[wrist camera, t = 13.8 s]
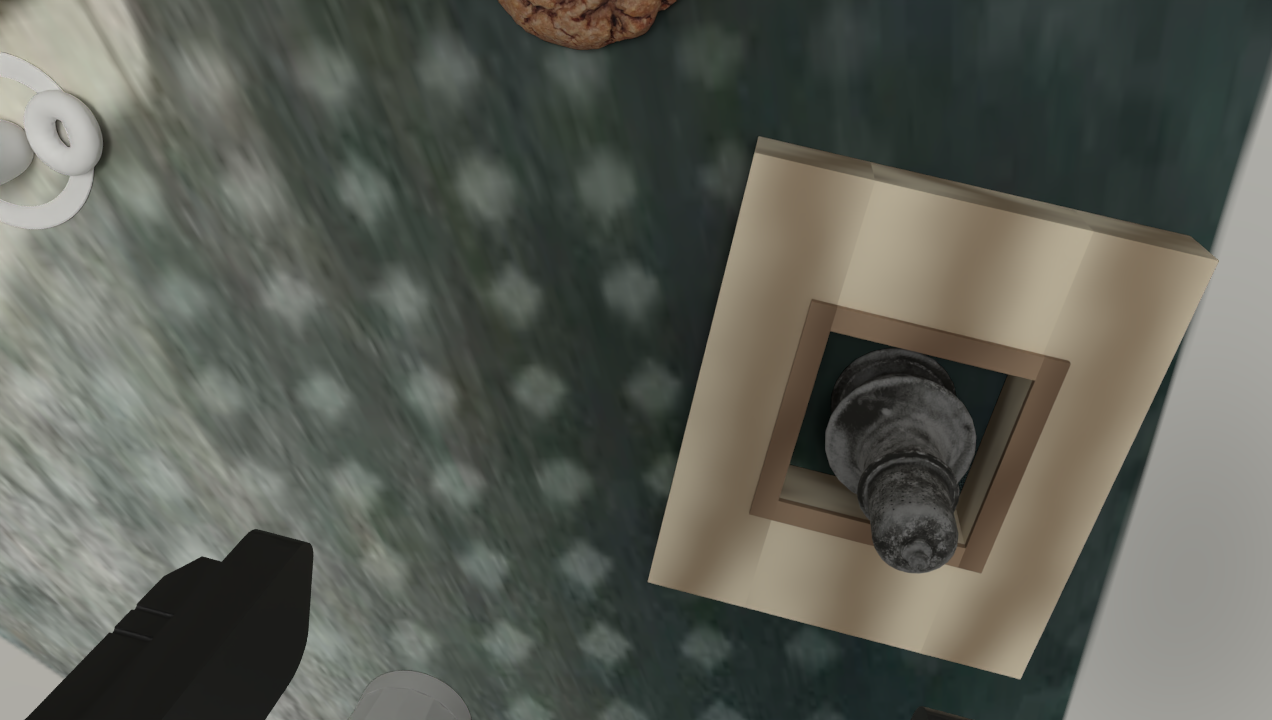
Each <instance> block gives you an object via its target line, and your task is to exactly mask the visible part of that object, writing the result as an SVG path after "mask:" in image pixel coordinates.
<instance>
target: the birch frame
mask: <svg viewBox="0 0 1272 720" xmlns="http://www.w3.org/2000/svg"><path fill="white" fill-rule="evenodd" d="M1218 262H1219V260H1218V259H1216V258H1215V257H1214V256H1213V255H1212V254H1211V253H1209V252H1208V251H1207V250H1206V249H1205V248H1204V247H1202V246H1201V245H1200V244H1199V243H1198V242H1197V241H1195V240H1194V239H1193V238H1192V237H1191V236H1187V235H1183V234H1179V233H1174V232H1170V231H1166V230H1161V229H1157V228H1153V227H1148V226H1144V225H1140V224H1136V223H1131V222H1127V221H1123V220H1118V219H1114V218H1110V217H1105V216H1101V215H1097V214H1092V213H1088V212H1084V211H1079V210H1075V209H1071V208H1067V207H1062V206H1058V205H1054V204H1049V203H1045V202H1041V201H1036V200H1032V199H1028V198H1023V197H1019V196H1015V195H1010V194H1006V193H1002V192H997V191H993V190H989V189H985V188H980V187H976V186H972V185H967V184H963V183H959V182H954V181H950V180H946V179H941V178H937V177H933V176H928V175H924V174H920V173H916V172H911V171H907V170H903V169H898V168H894V167H890V166H885V165H881V164H877V163H872V162H868V161H864V160H859V159H855V158H851V157H847V156H842V155H838V154H834V153H829V152H825V151H821V150H816V149H812V148H808V147H803V146H799V145H795V144H790V143H786V142H782V141H777V140H773V139H769V138H765V137H760V136H758V140H757V144H756V148H755V152H754V156H753V160H752V164H751V168H750V172H749V176H748V180H747V184H746V188H745V192H744V196H743V200H742V204H741V208H740V212H739V216H738V220H737V224H736V228H735V232H734V236H733V240H732V244H731V248H730V252H729V257H728V261H727V265H726V269H725V273H724V277H723V281H722V285H721V289H720V293H719V297H718V301H717V305H716V309H715V313H714V317H713V321H712V325H711V329H710V333H709V337H708V341H707V345H706V349H705V353H704V357H703V361H702V365H701V369H700V373H699V377H698V381H697V385H696V389H695V393H694V397H693V401H692V405H691V409H690V413H689V417H688V421H687V425H686V429H685V433H684V437H683V441H682V445H681V449H680V453H679V457H678V461H677V465H676V469H675V473H674V477H673V481H672V485H671V489H670V493H669V497H668V501H667V505H666V509H665V513H664V517H663V521H662V525H661V529H660V533H659V537H658V541H657V545H656V549H655V554H654V558H653V562H652V566H651V570H650V574H649V578H648V582H649V583H653V584H657V585H661V586H665V587H668V588H672V589H676V590H680V591H684V592H688V593H691V594H695V595H699V596H703V597H707V598H711V599H714V600H718V601H722V602H726V603H730V604H734V605H737V606H741V607H745V608H749V609H753V610H757V611H760V612H764V613H768V614H772V615H776V616H780V617H783V618H787V619H791V620H795V621H799V622H803V623H806V624H810V625H814V626H818V627H822V628H826V629H829V630H833V631H837V632H841V633H845V634H849V635H852V636H856V637H860V638H864V639H868V640H872V641H875V642H879V643H883V644H887V645H891V646H895V647H898V648H902V649H906V650H910V651H914V652H918V653H921V654H925V655H929V656H933V657H937V658H941V659H944V660H948V661H952V662H956V663H960V664H964V665H967V666H971V667H975V668H979V669H983V670H987V671H990V672H994V673H998V674H1002V675H1006V676H1010V677H1014V678H1017V679H1021V677H1022V675H1023V673H1024V671H1025V668H1026V666H1027V664H1028V662H1029V660H1030V658H1031V656H1032V654H1033V652H1034V649H1035V647H1036V645H1037V643H1038V641H1039V639H1040V637H1041V635H1042V633H1043V631H1044V628H1045V626H1046V624H1047V622H1048V620H1049V618H1050V616H1051V614H1052V612H1053V609H1054V607H1055V605H1056V603H1057V601H1058V599H1059V597H1060V595H1061V593H1062V591H1063V588H1064V586H1065V584H1066V582H1067V580H1068V578H1069V576H1070V574H1071V572H1072V569H1073V567H1074V565H1075V563H1076V561H1077V559H1078V557H1079V555H1080V553H1081V550H1082V548H1083V546H1084V544H1085V542H1086V540H1087V538H1088V536H1089V534H1090V532H1091V529H1092V527H1093V525H1094V523H1095V521H1096V519H1097V517H1098V515H1099V513H1100V510H1101V508H1102V506H1103V504H1104V502H1105V500H1106V498H1107V496H1108V494H1109V492H1110V489H1111V487H1112V485H1113V483H1114V481H1115V479H1116V477H1117V475H1118V473H1119V470H1120V468H1121V466H1122V464H1123V462H1124V460H1125V458H1126V456H1127V454H1128V451H1129V449H1130V447H1131V445H1132V443H1133V441H1134V439H1135V437H1136V435H1137V433H1138V430H1139V428H1140V426H1141V424H1142V422H1143V420H1144V418H1145V416H1146V414H1147V411H1148V409H1149V407H1150V405H1151V403H1152V401H1153V399H1154V397H1155V395H1156V393H1157V390H1158V388H1159V386H1160V384H1161V382H1162V380H1163V378H1164V376H1165V374H1166V371H1167V369H1168V367H1169V365H1170V363H1171V361H1172V359H1173V357H1174V355H1175V353H1176V350H1177V348H1178V346H1179V344H1180V342H1181V340H1182V338H1183V336H1184V334H1185V331H1186V329H1187V327H1188V325H1189V323H1190V321H1191V319H1192V317H1193V315H1194V312H1195V310H1196V308H1197V306H1198V304H1199V302H1200V300H1201V298H1202V296H1203V294H1204V291H1205V289H1206V287H1207V285H1208V283H1209V281H1210V279H1211V277H1212V275H1213V272H1214V270H1215V268H1216V266H1217V264H1218ZM830 331H832V332H836V333H840V334H844V335H849V336H853V337H857V338H861V339H865V340H869V341H873V342H877V343H882V344H886V345H890V346H894V347H898V348H902V349H906V350H910V351H915V352H919V353H923V354H927V355H931V356H935V357H939V358H943V359H948V360H952V361H956V362H960V363H964V364H968V365H972V366H976V367H980V368H985V369H989V370H993V371H997V372H1001V373H1005V374H1008V376H1007V378H1006V381H1005V383H1004V386H1003V388H1002V391H1001V393H1000V396H999V398H998V401H997V403H996V406H995V408H994V411H993V413H992V416H991V418H990V421H989V423H988V426H987V428H986V431H985V433H984V436H983V438H982V441H981V443H980V446H979V448H978V451H977V453H976V456H975V458H974V461H973V463H972V466H971V469H970V471H969V474H968V476H967V479H966V481H965V484H964V486H963V489H962V491H961V494H960V496H959V502H958V504H957V506H956V509H955V511H954V516H955V521H956V525H957V529H958V533H959V534H958V544H957V548H956V551H955V553H954V555H953V556H952V558H951V559H950V560H949V561H948V562H947V563H946V564H944V565H943V566H942V567H940V568H938V569H936V570H933V571H930V572H926V573H920V574H918V573H907V572H903V571H899V570H897V569H895V568H893V567H891V566H889V565H888V564H887V563H885V562H884V561H883V560H882V559H881V557H880V556H879V554H878V553H877V551H876V549H875V547H874V544H873V541H872V534H871V524H870V520H869V519H868V518H866V516H865V514H864V513H863V511H862V510H861V508H860V505H859V502H858V498H857V495H856V494H855V493H853V492H851V491H850V490H849V489H848V488H847V487H846V486H845V485H844V484H842V483H841V482H840V481H839V480H838V478H837V477H836V476H833V475H829V474H825V473H821V472H817V471H813V470H809V469H805V468H801V467H797V466H793V465H789V464H790V461H791V457H792V454H793V451H794V448H795V444H796V441H797V438H798V435H799V431H800V428H801V425H802V421H803V418H804V415H805V412H806V408H807V405H808V402H809V399H810V395H811V392H812V389H813V386H814V382H815V379H816V376H817V373H818V369H819V366H820V363H821V359H822V356H823V353H824V350H825V346H826V343H827V340H828V337H829V333H830Z"/></svg>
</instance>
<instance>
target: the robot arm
mask: <svg viewBox="0 0 1272 720" xmlns="http://www.w3.org/2000/svg"><path fill="white" fill-rule="evenodd" d="M312 569H313V548H312V545H311V544H310V543H308V542H304V541H300V540H296V539H293V538H289V537H285V536H281V535H277V534H274V533H270V532H266V531H262V530H258V529H254V530H252V531H250V532H249V533H248V534H247V535H246V536H245V537H244V538H243V539H242V540H241V541H240V542H239V543H238V544H237V545H236V547H235V548H234V549H233V550H232V551H231V552H230V553H229V554H228V555H227V557H226V558H225V559H224V560H223V561H222V562H221V561H217V560H213V559H209V558H206V557H200V558H198V559H196V560H194V561H192V562H191V563H189V564H187V565H185V566H183V567H181V568H179V569H177V570H175V571H173V572H171V573H169V574H167V575H166V576H164V577H163V578H162V579H161V580H160V581H159V582H158V583H157V584H156V585H155V586H154V587H153V588H152V589H151V590H150V591H149V592H148V593H147V594H146V595H145V596H144V597H143V598H142V599H141V600H140V601H139V602H138V603H137V606H136V609H135V610H131V611H130V612H129V613H128V614H127V615H126V616H125V617H124V618H123V619H122V620H121V621H120V622H119V623H118V624H117V625H116V626H115V629H114V631H113V633H108V634H107V636H106V637H105V638H104V639H103V640H102V641H101V642H100V643H99V644H98V645H97V646H96V647H95V648H94V649H93V650H92V651H91V652H90V653H89V654H88V655H87V656H86V657H85V658H84V659H83V660H82V661H81V662H80V663H79V664H78V665H77V666H76V668H75V669H74V670H73V671H72V672H71V673H70V674H69V675H68V676H67V677H66V678H65V679H64V680H63V681H62V682H61V683H60V684H59V685H58V686H57V687H56V688H55V689H54V690H53V691H52V692H51V694H49V695H48V697H47V698H46V699H45V700H44V701H43V702H42V703H41V704H40V705H39V706H38V707H37V708H36V709H35V710H34V711H33V712H32V713H31V714H30V715H29V716H28V717H27V718H26V719H25V720H265V719H266V718H267V716H268V715H269V713H270V712H271V710H272V709H273V707H274V706H275V704H276V703H277V701H278V700H279V698H280V697H281V695H282V694H283V692H284V691H285V689H286V688H287V686H288V685H289V683H290V682H291V680H292V678H293V677H294V675H295V673H296V671H297V669H298V666H299V664H300V661H301V659H302V656H303V653H304V650H305V646H306V642H307V637H308V628H309V613H310V598H311V584H312ZM911 720H972V719H968V718H964V717H960V716H957V715H953V714H949V713H945V712H942V711H938V710H934V709H930V708H926V707H923V706H921V707H919V708H917V709H916V711H915V712H914V714H913V716H912V718H911Z"/></svg>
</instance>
